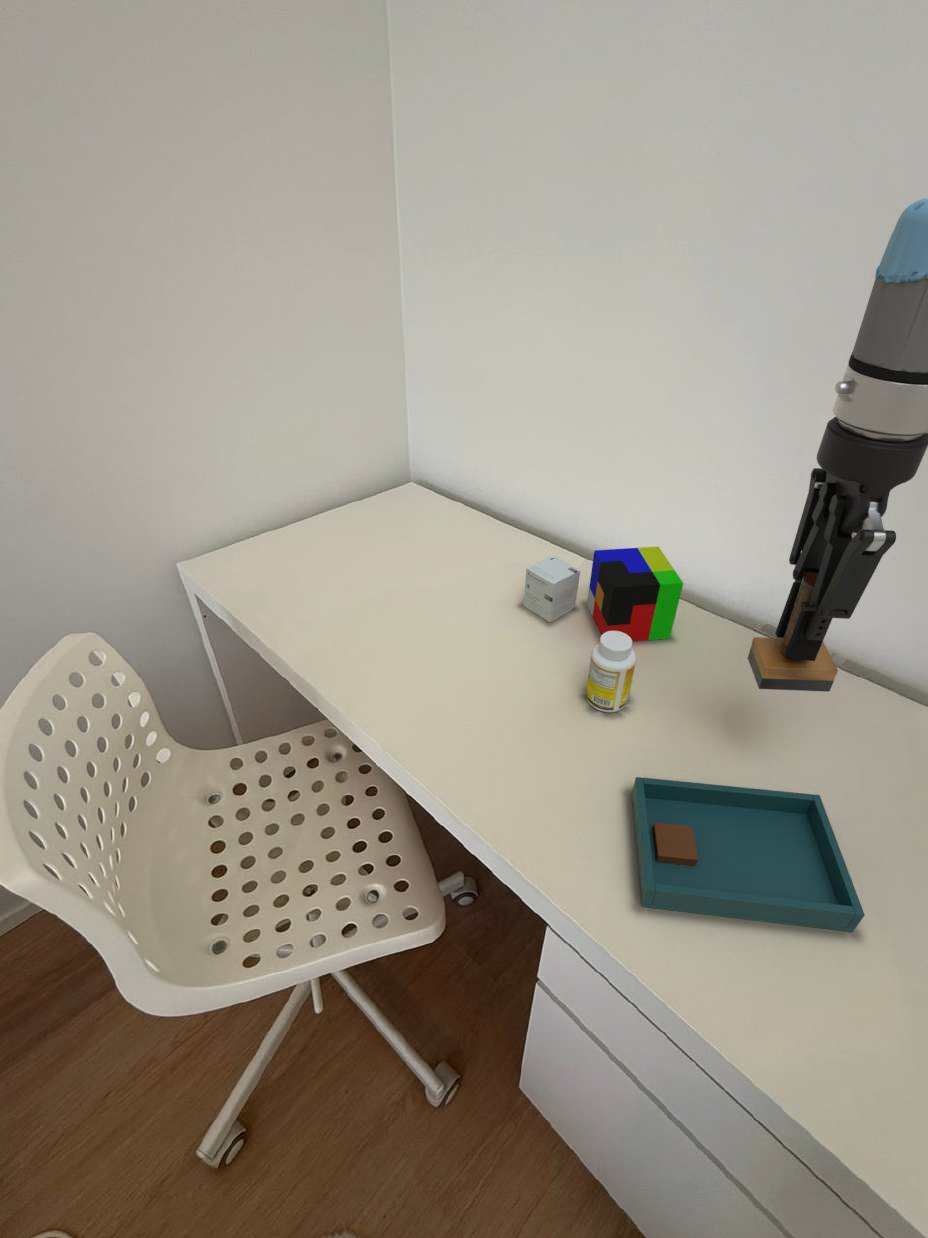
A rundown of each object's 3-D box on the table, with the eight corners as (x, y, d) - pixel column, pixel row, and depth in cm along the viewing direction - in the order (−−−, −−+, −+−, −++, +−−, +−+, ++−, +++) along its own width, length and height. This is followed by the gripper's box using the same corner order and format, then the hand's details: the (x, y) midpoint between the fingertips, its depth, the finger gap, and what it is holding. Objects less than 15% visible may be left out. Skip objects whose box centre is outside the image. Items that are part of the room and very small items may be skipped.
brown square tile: (690, 833, 69) (692, 826, 68) (696, 866, 66) (698, 860, 65) (651, 829, 70) (653, 822, 69) (656, 862, 66) (658, 855, 66)
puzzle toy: (586, 604, 104) (594, 550, 98) (647, 599, 104) (658, 546, 98) (604, 643, 96) (613, 587, 90) (669, 638, 96) (683, 582, 90)
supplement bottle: (618, 683, 89) (629, 624, 83) (633, 711, 84) (646, 651, 78) (579, 687, 88) (587, 628, 82) (592, 717, 84) (602, 657, 77)
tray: (810, 812, 72) (819, 794, 70) (852, 932, 61) (865, 915, 59) (631, 794, 74) (635, 776, 72) (642, 907, 63) (647, 890, 61)
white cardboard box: (522, 606, 103) (524, 567, 99) (548, 592, 106) (552, 553, 102) (550, 623, 99) (554, 584, 95) (576, 608, 103) (581, 569, 98)
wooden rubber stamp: (814, 660, 71) (848, 567, 63) (829, 692, 67) (868, 596, 59) (747, 658, 71) (773, 566, 64) (758, 689, 67) (788, 594, 60)
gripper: (802, 391, 59) (739, 600, 73) (869, 462, 47) (777, 697, 61) (888, 393, 59) (808, 603, 73) (980, 466, 46) (861, 703, 60)
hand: (794, 646), depth 67 cm, fingers closed on wooden rubber stamp, 3 cm apart
